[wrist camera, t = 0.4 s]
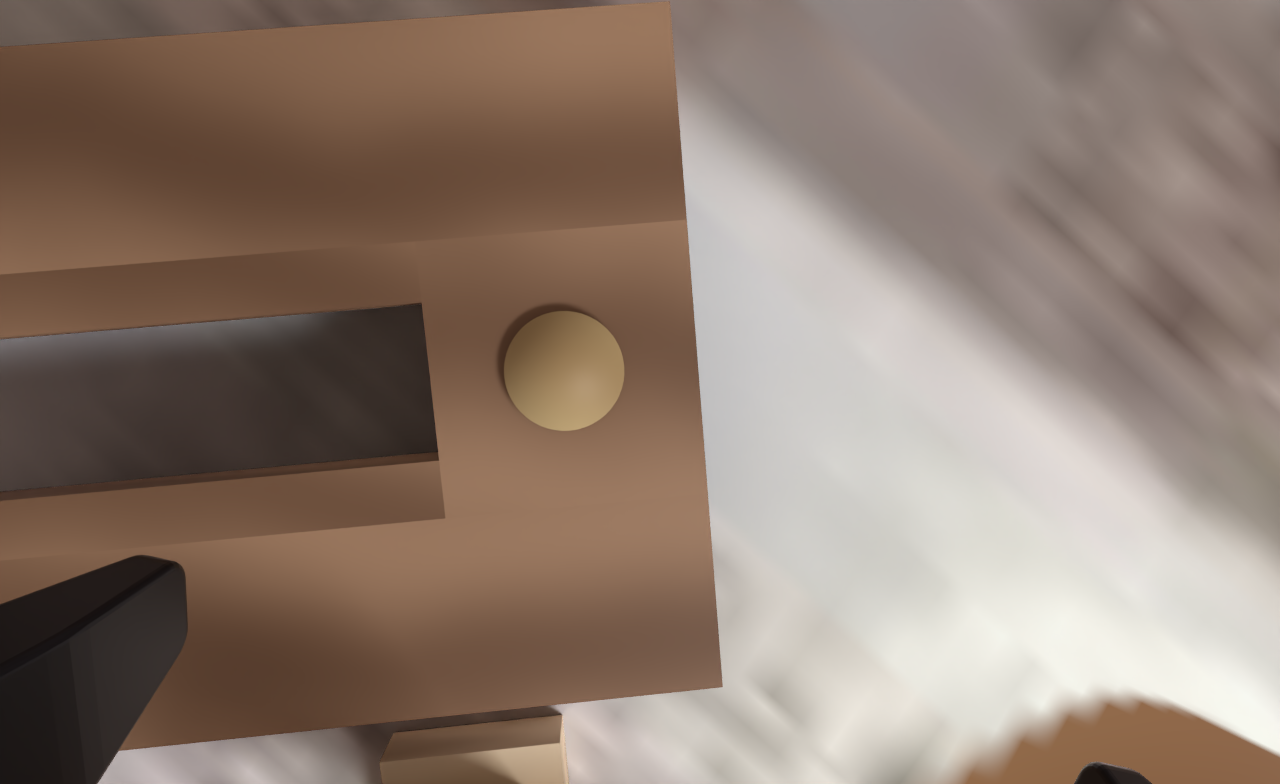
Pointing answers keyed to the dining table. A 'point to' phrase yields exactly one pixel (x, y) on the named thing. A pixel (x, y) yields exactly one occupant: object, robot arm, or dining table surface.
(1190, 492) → the dining table surface
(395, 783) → the copper peg
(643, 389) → the keyhole plate
